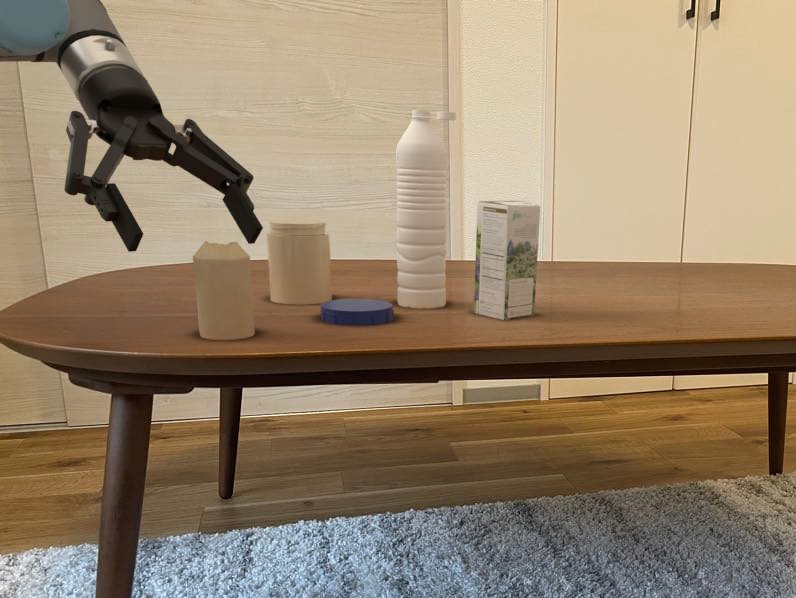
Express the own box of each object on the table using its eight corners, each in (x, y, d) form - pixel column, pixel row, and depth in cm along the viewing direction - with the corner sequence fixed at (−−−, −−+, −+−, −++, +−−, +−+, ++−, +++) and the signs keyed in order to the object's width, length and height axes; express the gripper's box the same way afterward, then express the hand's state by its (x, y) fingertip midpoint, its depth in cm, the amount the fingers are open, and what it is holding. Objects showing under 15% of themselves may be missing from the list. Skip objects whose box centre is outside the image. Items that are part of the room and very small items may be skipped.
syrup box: (504, 310, 105) (507, 199, 101) (536, 317, 101) (541, 202, 97) (473, 314, 101) (475, 199, 96) (505, 322, 97) (508, 202, 93)
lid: (362, 311, 100) (361, 296, 99) (407, 321, 95) (407, 305, 95) (306, 319, 94) (305, 303, 93) (352, 330, 89) (351, 314, 88)
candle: (254, 330, 87) (247, 238, 84) (256, 340, 82) (249, 244, 79) (200, 331, 85) (192, 238, 82) (199, 342, 80) (190, 244, 77)
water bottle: (419, 311, 101) (418, 107, 94) (387, 304, 105) (384, 107, 98) (467, 305, 107) (470, 112, 100) (436, 298, 111) (436, 113, 104)
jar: (294, 308, 100) (290, 224, 97) (258, 299, 104) (253, 219, 101) (344, 301, 106) (341, 222, 103) (307, 293, 110) (304, 218, 107)
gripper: (-9, 48, 75) (85, 219, 71) (226, 76, 94) (310, 212, 90) (-21, 107, 79) (67, 271, 76) (205, 122, 99) (285, 253, 95)
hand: (199, 239), depth 83 cm, fingers open, 13 cm apart
